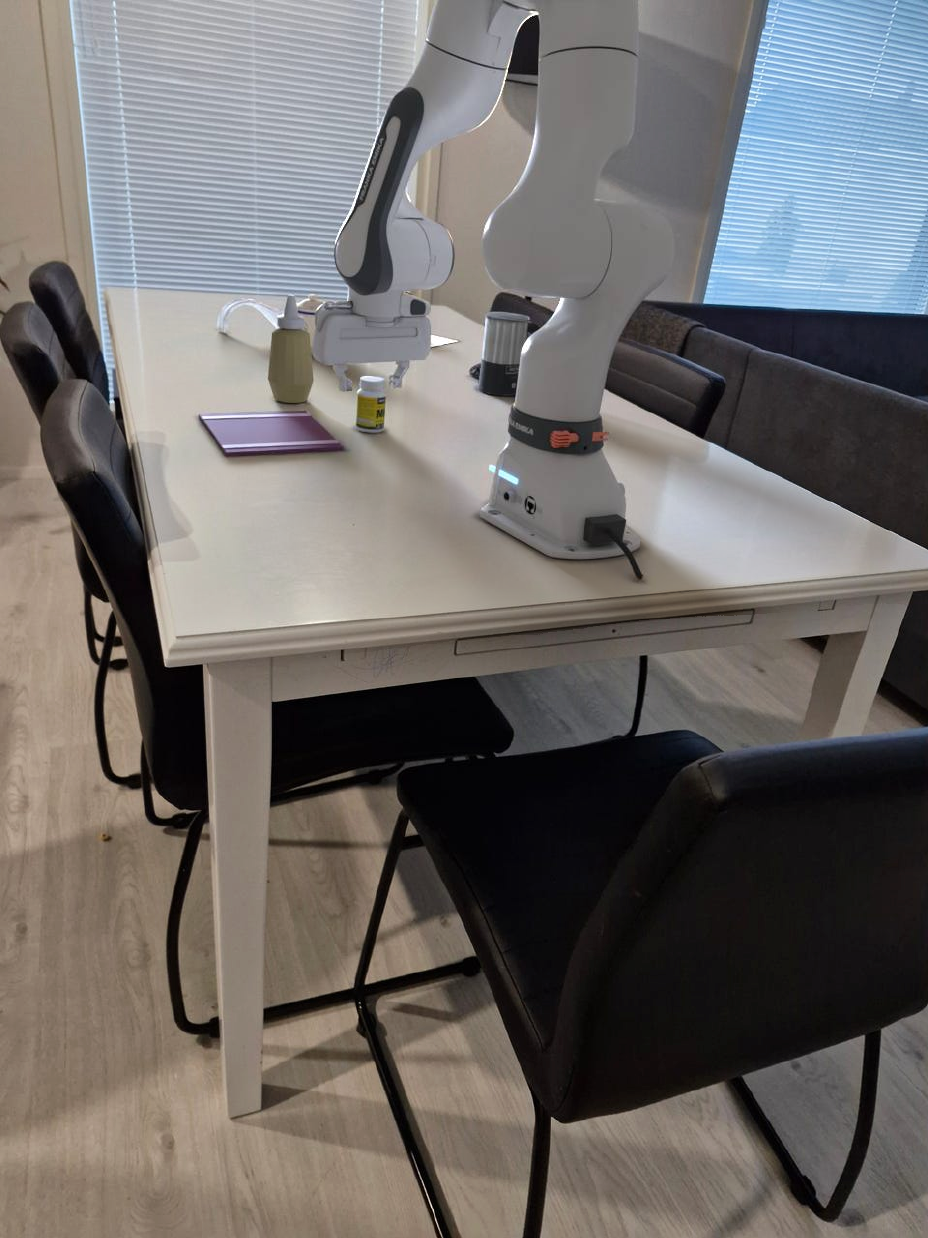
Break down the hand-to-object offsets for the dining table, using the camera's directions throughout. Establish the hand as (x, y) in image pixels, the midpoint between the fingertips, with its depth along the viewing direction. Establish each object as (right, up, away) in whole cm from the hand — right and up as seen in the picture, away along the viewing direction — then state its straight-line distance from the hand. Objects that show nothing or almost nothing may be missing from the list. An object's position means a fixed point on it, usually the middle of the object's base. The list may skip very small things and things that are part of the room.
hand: (370, 388), depth 143 cm
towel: (-16, -8, -5) cm, 18 cm away
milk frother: (+21, +11, +39) cm, 45 cm away
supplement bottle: (-1, -6, +3) cm, 7 cm away
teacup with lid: (-18, +22, +51) cm, 59 cm away
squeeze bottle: (-16, +2, +14) cm, 21 cm away
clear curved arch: (-31, +31, +65) cm, 79 cm away
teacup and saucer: (0, +32, +74) cm, 80 cm away
